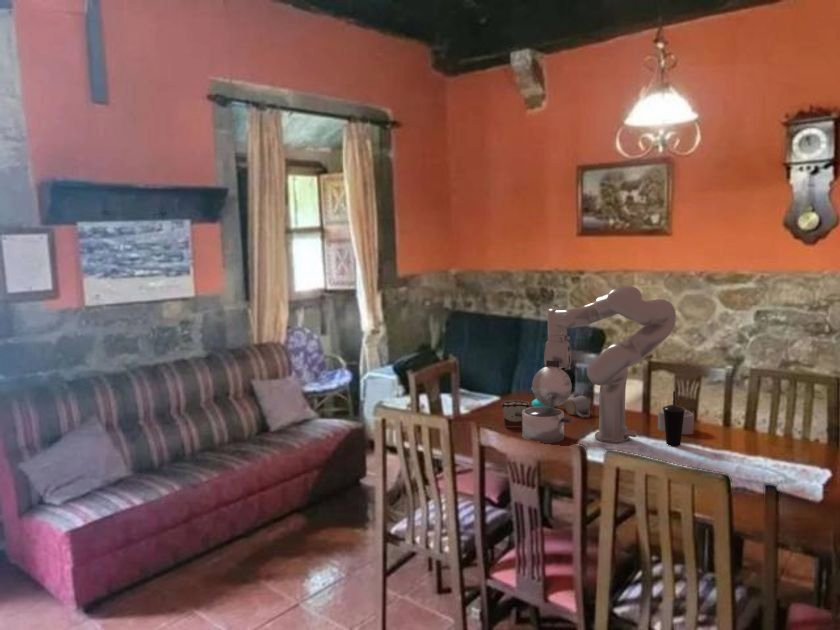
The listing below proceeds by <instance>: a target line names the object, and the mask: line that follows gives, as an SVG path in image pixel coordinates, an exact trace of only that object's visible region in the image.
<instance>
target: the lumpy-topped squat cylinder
mask: <svg viewBox="0 0 840 630" xmlns="http://www.w3.org/2000/svg"><path fill="white" fill-rule="evenodd" d="M682 407H683V406H682ZM683 408H685V407H683ZM694 418H695V417H694V413H693V412H691V411H689V410H688V409H686V408H685V411H684V418H683V427H682V435H692V434H693V435H694V420H695V419H694ZM657 430H659V431H661V432H665V420H664V410H663V408H662V409H660V410H658V412H657Z"/></svg>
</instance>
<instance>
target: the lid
mask: <svg viewBox="0 0 840 630" xmlns="http://www.w3.org/2000/svg"><path fill="white" fill-rule="evenodd" d="M559 362H560V361H546V367H542V368H541V369H539V370H538V371H537V372H536V373H535V375H534V377H533V379H532V383H531V391H532V390H533V391H532V394H533V395H534V397H535V399H537V400H538V401H539V402H540V403H541V404H543V405H545V406H549V407H553V408H556V407H559V406H561V405H563V404H564V403H565V404H566V402H567V400H569V399H570V397H571V394H572V388H573V387H572V382H571V381H572V380H571V378H570V376H569V374H568V373H567V372H566V370H564V371H563V370H562V369H560V368H558V367H559Z"/></svg>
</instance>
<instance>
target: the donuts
mask: <svg viewBox="0 0 840 630" xmlns="http://www.w3.org/2000/svg"><path fill="white" fill-rule="evenodd" d="M531 391H532V392H533V390H532V389H531ZM531 407H549V406H545V405H543V404H541V403H540V402H539V401H538V400H537V399H536V398H535V399H533V400H532V401H531Z"/></svg>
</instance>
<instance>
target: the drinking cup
mask: <svg viewBox="0 0 840 630" xmlns="http://www.w3.org/2000/svg"><path fill="white" fill-rule="evenodd" d="M672 398H673V399H672V404H669V405H665V406H663V407H662V409H663V410H664V420H665V431H664V432H665V444H666V445H667V444H668V445H667V446H669V445H671V446H670V447H680V446H681V443H682V442H681V441H682V435H683V434H682V427H683V418H684V411H685V409H686V408H685V407H684V408H683V406H680V405H678V404H676V390H673V393H672Z"/></svg>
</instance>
